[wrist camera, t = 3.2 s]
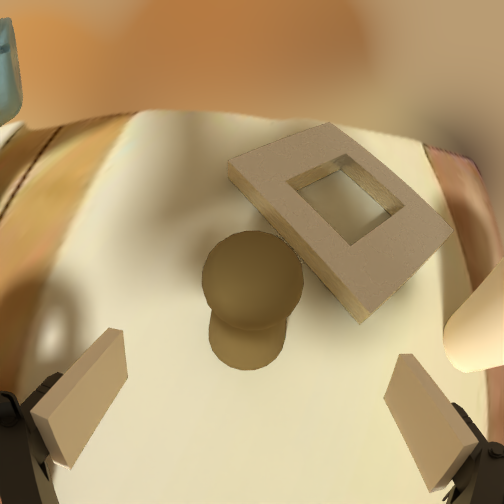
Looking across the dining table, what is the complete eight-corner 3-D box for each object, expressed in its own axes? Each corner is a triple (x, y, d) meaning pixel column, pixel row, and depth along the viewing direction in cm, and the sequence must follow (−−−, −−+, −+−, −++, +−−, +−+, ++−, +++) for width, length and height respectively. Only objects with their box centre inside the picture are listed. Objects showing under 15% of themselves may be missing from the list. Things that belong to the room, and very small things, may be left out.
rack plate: (228, 177, 33) (227, 160, 30) (325, 137, 38) (329, 122, 36) (359, 324, 24) (370, 314, 22) (443, 243, 29) (454, 230, 27)
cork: (261, 286, 26) (275, 197, 17) (299, 347, 23) (342, 285, 14) (195, 318, 24) (170, 240, 15) (231, 384, 21) (226, 348, 12)
